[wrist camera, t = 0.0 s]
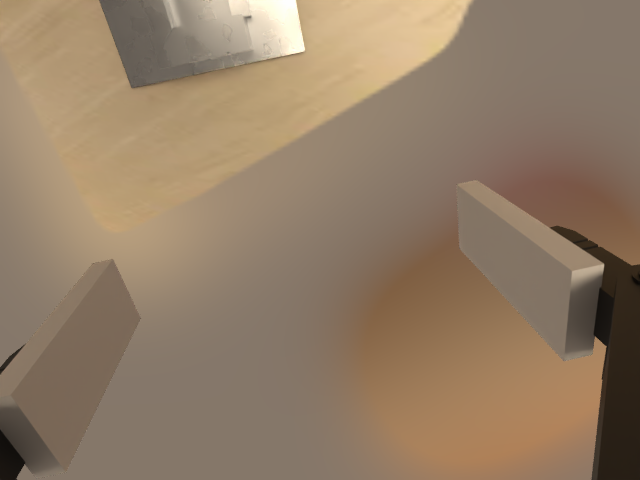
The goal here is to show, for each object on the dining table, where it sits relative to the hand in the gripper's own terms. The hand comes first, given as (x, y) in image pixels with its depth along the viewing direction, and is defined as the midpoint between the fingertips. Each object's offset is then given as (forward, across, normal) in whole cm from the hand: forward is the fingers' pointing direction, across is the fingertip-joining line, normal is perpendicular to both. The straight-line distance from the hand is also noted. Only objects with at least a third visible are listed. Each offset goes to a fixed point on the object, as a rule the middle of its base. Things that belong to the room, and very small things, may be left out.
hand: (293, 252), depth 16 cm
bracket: (+28, -4, +12) cm, 31 cm away
